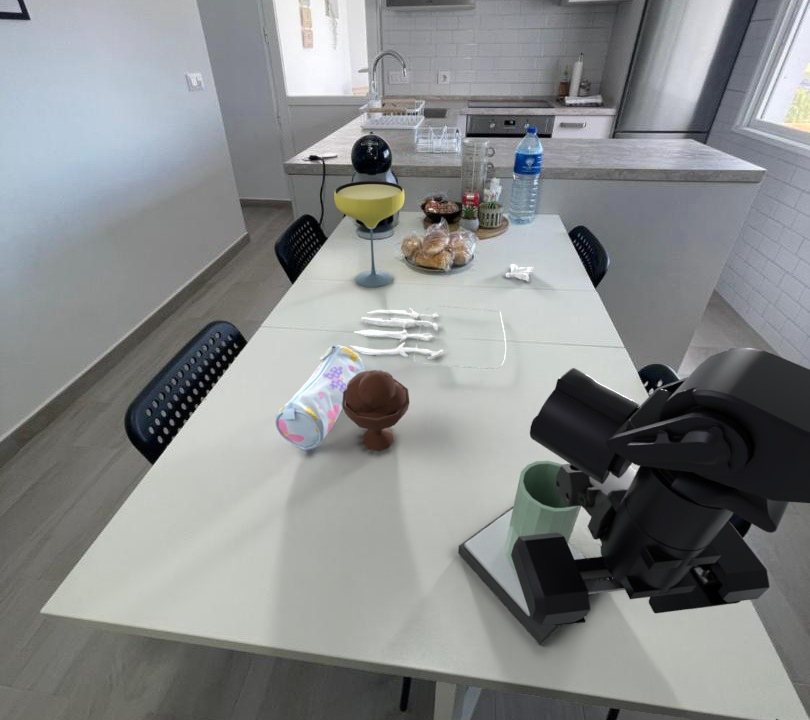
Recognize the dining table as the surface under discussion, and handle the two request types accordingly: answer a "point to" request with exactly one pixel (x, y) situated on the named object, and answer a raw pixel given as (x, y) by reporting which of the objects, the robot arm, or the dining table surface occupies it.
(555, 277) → the dining table surface
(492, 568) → the scale
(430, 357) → the knife set
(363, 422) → the ice cream bowl
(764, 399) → the robot arm
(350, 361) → the pencil case
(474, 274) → the dining table surface
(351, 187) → the cocktail glass
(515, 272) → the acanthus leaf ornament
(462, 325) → the dining table surface
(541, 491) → the tumbler
